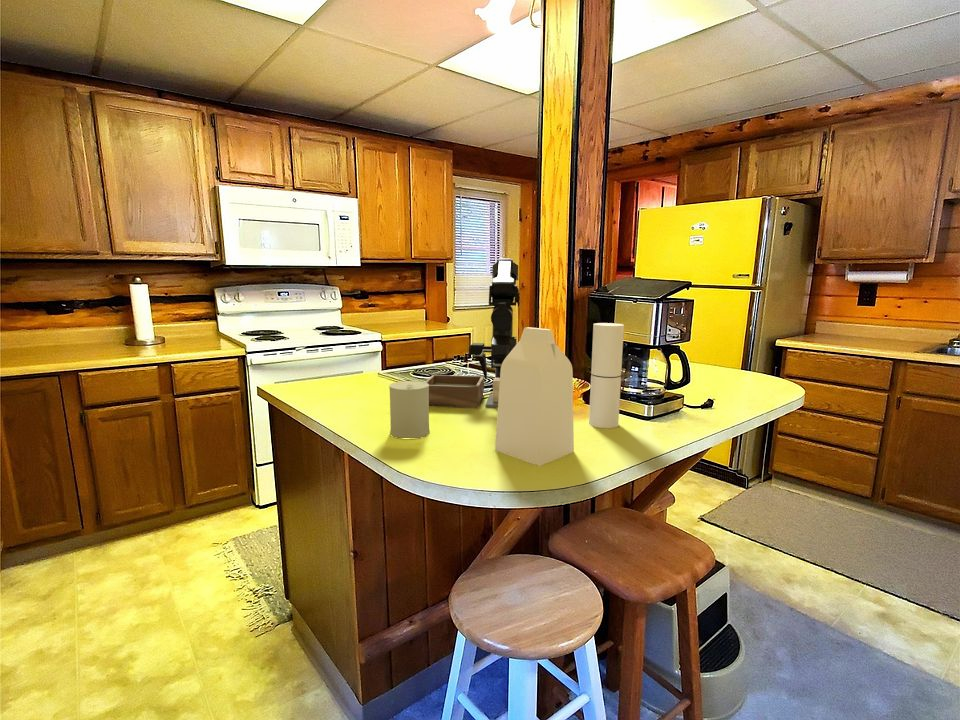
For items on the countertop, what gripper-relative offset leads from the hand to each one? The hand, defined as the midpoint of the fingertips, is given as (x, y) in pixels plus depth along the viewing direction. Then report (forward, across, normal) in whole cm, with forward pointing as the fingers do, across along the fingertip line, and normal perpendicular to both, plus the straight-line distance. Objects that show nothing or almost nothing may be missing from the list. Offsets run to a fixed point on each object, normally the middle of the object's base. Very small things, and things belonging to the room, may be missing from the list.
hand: (501, 379), depth 143 cm
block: (+6, 0, 0) cm, 6 cm away
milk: (+7, +10, -39) cm, 41 cm away
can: (+7, -19, -31) cm, 37 cm away
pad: (+7, 0, 0) cm, 7 cm away
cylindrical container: (+7, +27, -17) cm, 33 cm away
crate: (+7, -14, 0) cm, 16 cm away
